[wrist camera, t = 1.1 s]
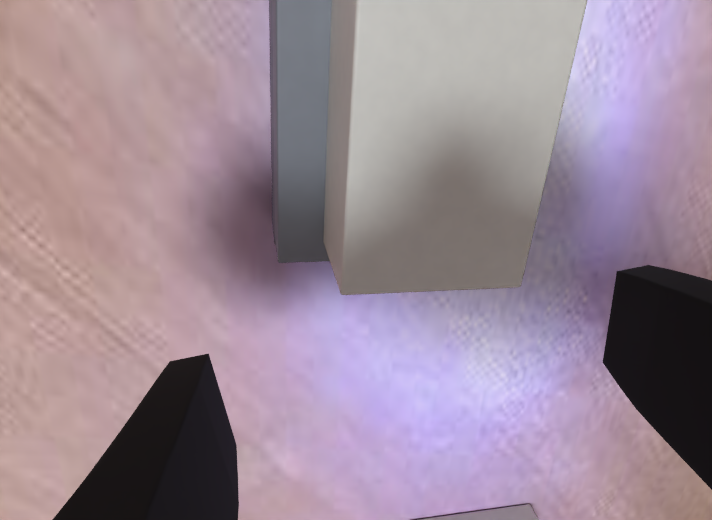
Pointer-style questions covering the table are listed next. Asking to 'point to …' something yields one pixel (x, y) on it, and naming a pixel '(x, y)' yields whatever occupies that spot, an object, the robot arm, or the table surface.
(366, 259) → the cream rectangular block
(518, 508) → the cream stack
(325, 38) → the grey stack
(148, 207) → the table surface
